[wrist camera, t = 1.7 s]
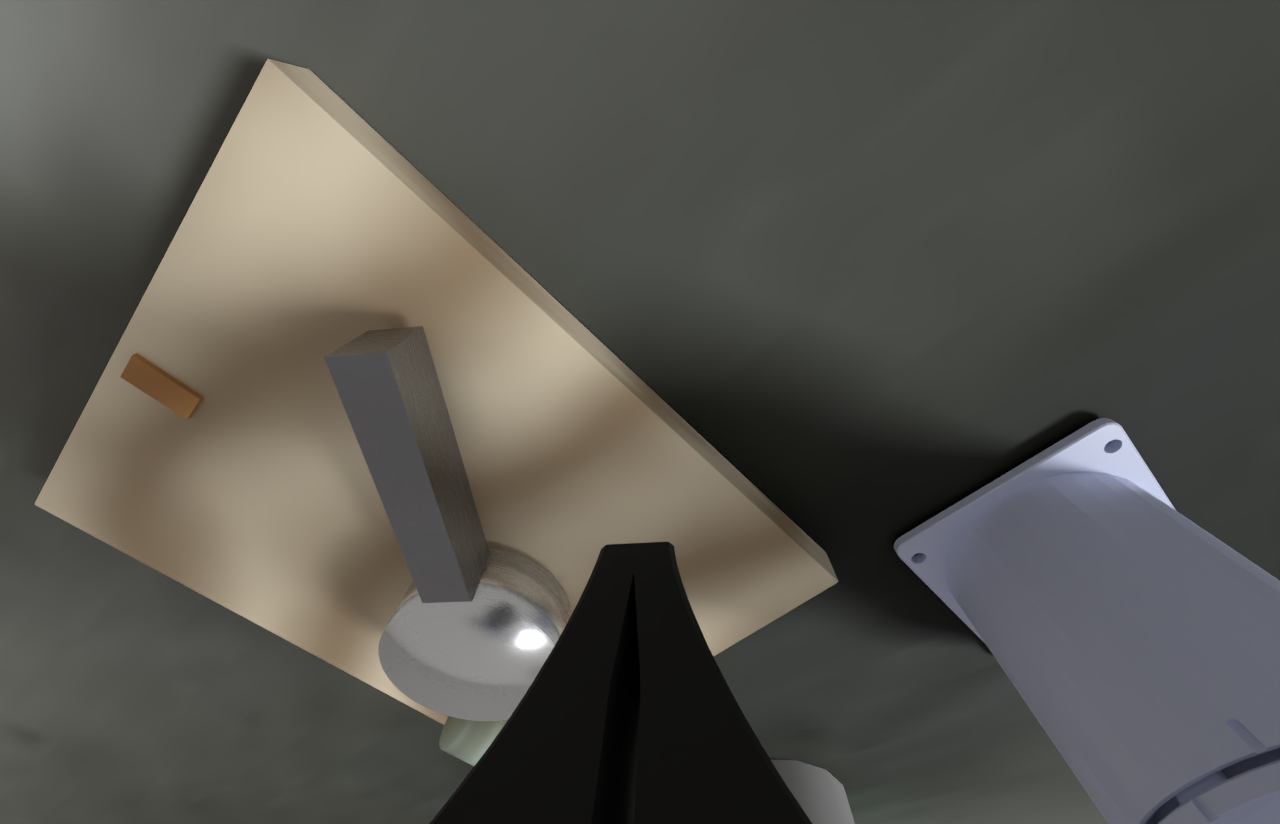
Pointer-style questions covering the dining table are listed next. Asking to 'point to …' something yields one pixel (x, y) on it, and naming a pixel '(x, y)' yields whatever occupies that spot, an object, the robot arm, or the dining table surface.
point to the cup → (816, 792)
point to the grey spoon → (442, 542)
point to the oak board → (322, 434)
